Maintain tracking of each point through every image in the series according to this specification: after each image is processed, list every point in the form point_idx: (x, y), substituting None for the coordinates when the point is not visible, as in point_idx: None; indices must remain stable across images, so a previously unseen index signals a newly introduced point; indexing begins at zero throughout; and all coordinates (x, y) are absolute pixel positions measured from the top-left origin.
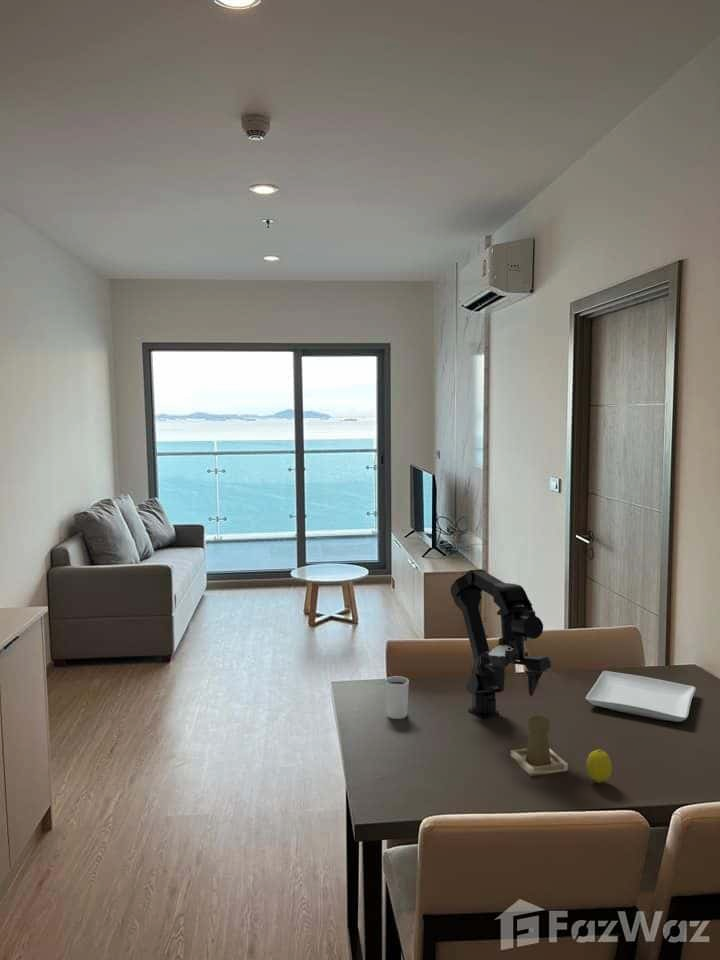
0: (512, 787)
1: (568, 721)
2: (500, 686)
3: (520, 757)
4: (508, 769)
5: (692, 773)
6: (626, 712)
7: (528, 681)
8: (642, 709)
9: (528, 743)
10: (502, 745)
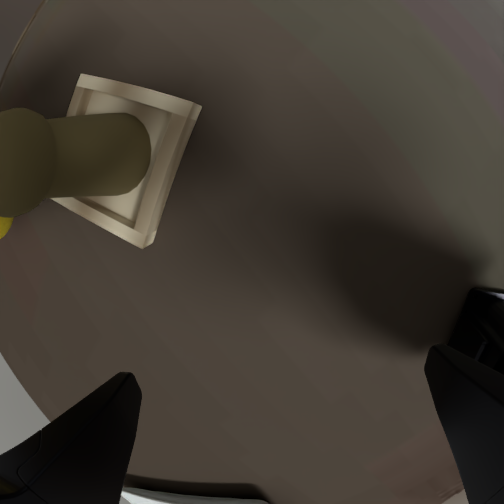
0: (96, 6)
1: (255, 440)
2: (452, 367)
3: (137, 96)
4: (152, 44)
5: (12, 357)
6: (208, 497)
7: (52, 455)
8: (167, 500)
9: (95, 122)
10: (286, 153)
